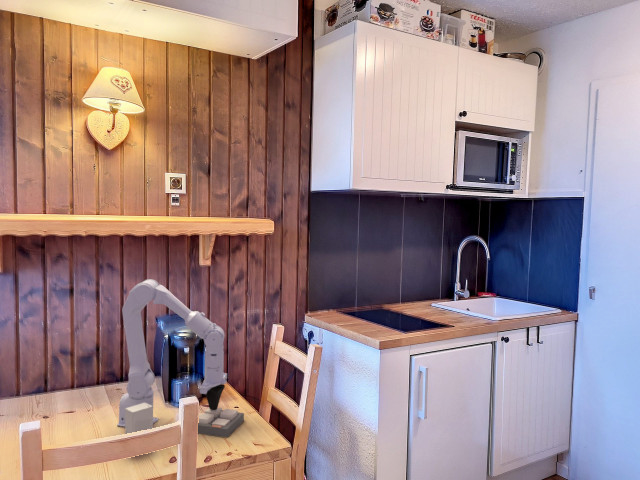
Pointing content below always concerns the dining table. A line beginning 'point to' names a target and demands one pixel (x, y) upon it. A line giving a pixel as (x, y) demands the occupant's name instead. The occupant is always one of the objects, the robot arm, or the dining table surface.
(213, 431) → the console
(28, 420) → the dining table surface
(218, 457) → the dining table surface
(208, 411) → the key
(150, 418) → the skincare box
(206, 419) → the key
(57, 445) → the dining table surface
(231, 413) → the key
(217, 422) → the key
